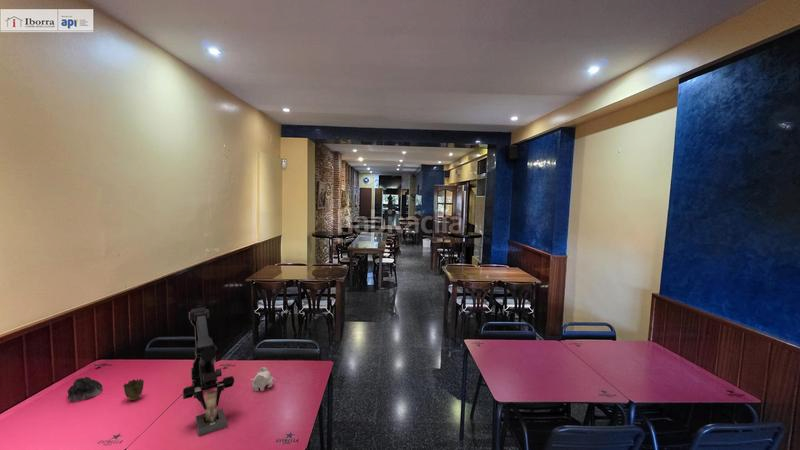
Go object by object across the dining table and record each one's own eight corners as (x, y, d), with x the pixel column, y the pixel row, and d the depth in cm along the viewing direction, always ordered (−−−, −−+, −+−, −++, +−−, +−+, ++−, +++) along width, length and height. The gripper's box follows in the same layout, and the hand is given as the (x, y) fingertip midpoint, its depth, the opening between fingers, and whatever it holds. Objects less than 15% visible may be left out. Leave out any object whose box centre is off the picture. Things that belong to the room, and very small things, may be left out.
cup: (133, 405, 157) (132, 387, 157) (119, 402, 159) (119, 385, 158) (148, 396, 165) (147, 379, 164) (135, 394, 166) (134, 377, 166)
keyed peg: (205, 421, 145) (204, 392, 144) (215, 417, 147) (215, 389, 146) (206, 427, 141) (206, 397, 140) (217, 424, 143) (217, 394, 142)
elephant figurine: (273, 392, 170) (273, 374, 169) (247, 394, 168) (247, 376, 167) (277, 382, 179) (277, 365, 179) (252, 384, 177) (252, 367, 177)
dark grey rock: (89, 387, 173) (85, 368, 172) (112, 387, 170) (108, 368, 169) (59, 404, 160) (54, 384, 159) (82, 405, 157) (78, 384, 156)
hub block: (196, 422, 146) (195, 415, 145) (222, 414, 151) (222, 407, 151) (198, 436, 137) (198, 428, 137) (226, 427, 143) (226, 419, 143)
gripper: (182, 369, 141) (185, 409, 132) (233, 357, 151) (238, 394, 143) (181, 379, 147) (184, 418, 139) (230, 368, 158) (235, 403, 150)
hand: (211, 407), depth 143 cm, fingers open, 4 cm apart
